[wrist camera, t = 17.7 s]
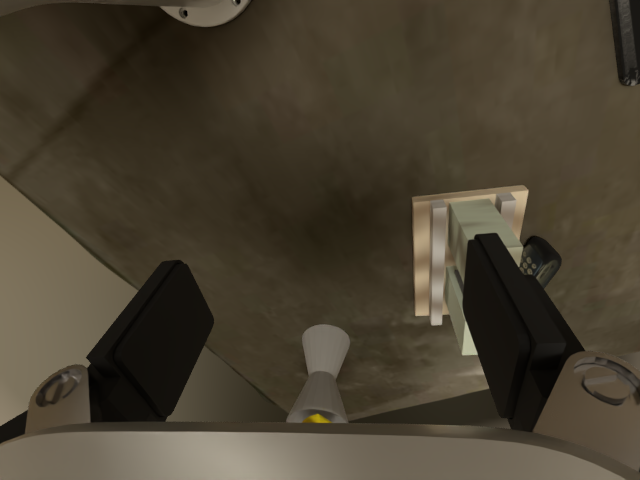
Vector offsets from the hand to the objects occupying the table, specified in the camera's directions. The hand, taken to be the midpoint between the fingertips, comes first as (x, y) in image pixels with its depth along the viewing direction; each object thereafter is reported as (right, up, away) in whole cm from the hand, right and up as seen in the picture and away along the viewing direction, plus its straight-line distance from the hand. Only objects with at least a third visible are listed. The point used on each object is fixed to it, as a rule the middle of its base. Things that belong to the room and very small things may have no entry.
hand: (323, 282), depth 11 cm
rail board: (+20, -1, +35) cm, 40 cm away
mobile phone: (+27, -4, +36) cm, 45 cm away
